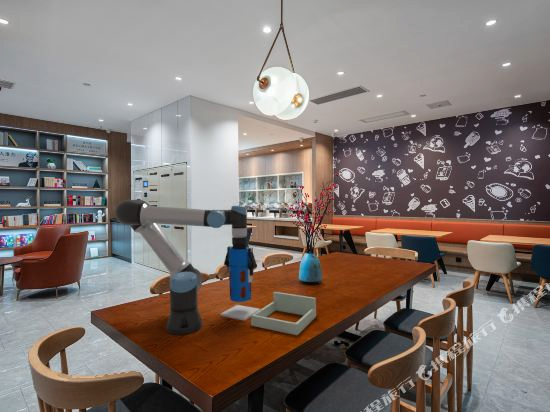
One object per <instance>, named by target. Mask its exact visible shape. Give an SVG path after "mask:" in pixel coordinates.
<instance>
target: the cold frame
mask: <svg viewBox="0 0 550 412" xmlns="http://www.w3.org/2000/svg"><path fill="white" fill-rule="evenodd" d="M272 294H273V295H272V296H273V301H272V302H270V303H269V304H267V305H265V306H264V307H262V308H260V310H259V311H258V312H256V313H254V314H253V315H251V317H250V320H251V326H252V327H255V328H256V327H257V328H262V329H265V330H266V329H267V330H272V331H275V332H280V333H284V334H290V335H294V336H298V335H299V334H300V333H301V332H302V331H303V330H305V329H306V328H307V326H308V325H309V324H310V323H311V322H313V320H314V319H315V318H316V317H317V298H316V297H312V296H307V295H306V296H305V295H300V294H299V295H298V294H293V293H292V294H291V293H284V292H277V291H274V292H273V293H272ZM275 311H277V312H282V313H287V314H295V315H299V316H302V317H300V319H298V321H296V322H293V321H287V320H282V319H277V318H273V317H268V316H270V315H271V314H273V313H274V312H275Z"/></svg>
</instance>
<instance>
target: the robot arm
mask: <svg viewBox="0 0 550 412" xmlns="http://www.w3.org/2000/svg"><path fill="white" fill-rule="evenodd" d="M114 215H115V218H116V220H117V221H118V222H119V223H120V224H121V225H123V226H129V227H130V228H131V229H132V231H133V232H134V233H137V234H140V235H141V237H143V239H144V241H145V242H146V243H147V244H148V246H149V247H150V248H151V249H152V250H153V252H154V253H155V254H156V255H155V256H156V257H158V259H159V260H160V261H161V263H162V264H163V265H164V267H165V268H166V270H167V271H168V272H169V302H170V303H169V304H170V309H169V310H170V311H169V315H168V319H167V322H166V324H165V325H166V332H167V333H169V334H172V335H178V336H179V335H188V334H191V333H195V332H197V331H198V330H200V329H201V328H202V326H203V320H202V318H201V314H200V311H199V307H198V302H199V301H198V293H199V290H200V289H201V287H202V285H203V274H202V273H201V271H200V270H199V269H197V268H195V267H194V266H193V264H192V263H191V262H189V261H188V262H187V261H186V260H185V259H184V258H183V257H182V256H181V254H180V253H179V252H178V250H177V248H176V247H175V246H174V245H173V243H172V242H171V241H170V240H169V238H168V237H167V235H166V234H165V233H164V231H163V230H162V229H161V227H160V225H161V224H162V225H173V226H174V225H176V226H193V227H206V228H209V227H210V228H213V229H219V228H221V227H223V226H231V236H232V237H231V244H232V246H231V245H229V246H227V248H226V249H227V250H226V253H225V254H226V255H225V258H224V262H223V265H224V266H226V267H227V269H226V270H227V273H228V274H229V249H230V248H233V249H248V251H247V252H248V255H249V258H250V261H248V267H249V269H248V283H250V282H251V283H252V282H253V275H254V269H255V268H257V267H258V264H257V262H256V261H257V260H256V258H255V255H254V248H253V247H249V248H248V237H247V236H248V221H247V220H248V214H247V206H246V205H231V209H200V208H199V209H198V208H185V207H184V208H181V207H170V206H156V205H150V203H148V202H147V201H144V200H142V199H125V200H123V201H120V202H119V203H118V204H117V205H116V207H115V209H114Z"/></svg>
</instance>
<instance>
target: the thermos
mask: <svg viewBox="0 0 550 412" xmlns="http://www.w3.org/2000/svg"><path fill="white" fill-rule="evenodd" d="M247 247H248V246H247ZM248 248H250V247H248ZM247 251H248V249H233V248H230V249H229V273H228V281H229V282H228V283H229V299H230V302H235V303H245V302H248V301H250V300H251V299H252V292H253V291H252V282H250V283H248V269H249V267H248V261H250V258H249V255H248V252H247Z"/></svg>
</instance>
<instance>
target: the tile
mask: <svg viewBox="0 0 550 412" xmlns="http://www.w3.org/2000/svg"><path fill="white" fill-rule="evenodd" d="M259 310H261V308H258V307H252V306H245V305H240V304H235V305H234V306H232V307H230V308H228V309H227V310H225V311H223V312H221V313H220V316H221V317H225V318H231V319H233V320H240V321H246V320H249V318H250V319H251V315H253V314H254V313H256V312H258V311H259Z"/></svg>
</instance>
